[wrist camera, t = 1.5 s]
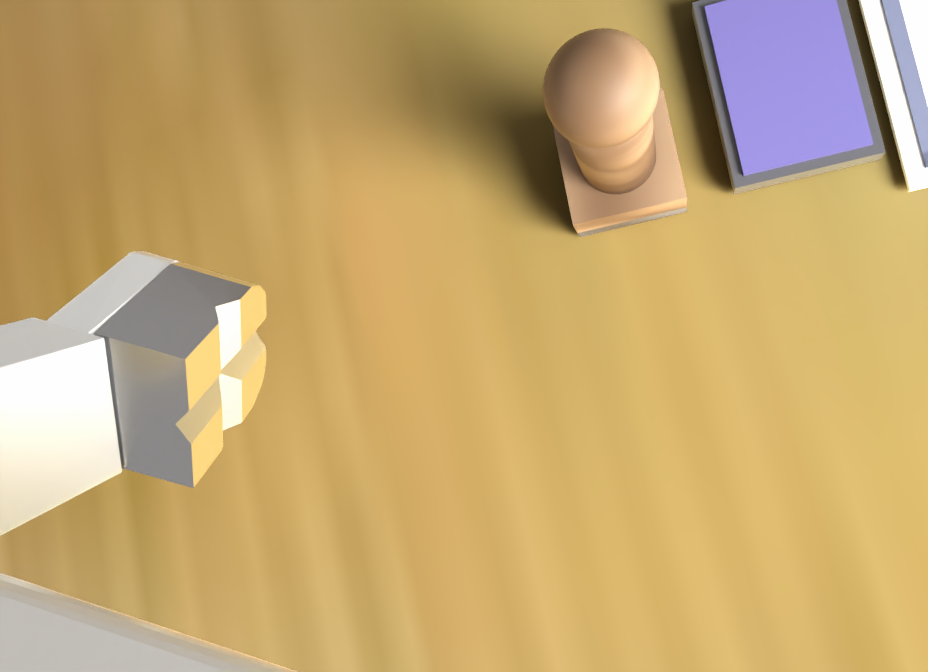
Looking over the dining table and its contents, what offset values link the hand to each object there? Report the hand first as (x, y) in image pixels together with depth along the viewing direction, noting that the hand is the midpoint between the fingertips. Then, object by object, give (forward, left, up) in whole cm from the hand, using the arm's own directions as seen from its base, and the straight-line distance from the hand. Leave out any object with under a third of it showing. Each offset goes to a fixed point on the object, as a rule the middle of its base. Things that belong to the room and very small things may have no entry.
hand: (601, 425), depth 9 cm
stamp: (-1, -10, -26) cm, 28 cm away
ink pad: (-8, -12, -26) cm, 29 cm away
